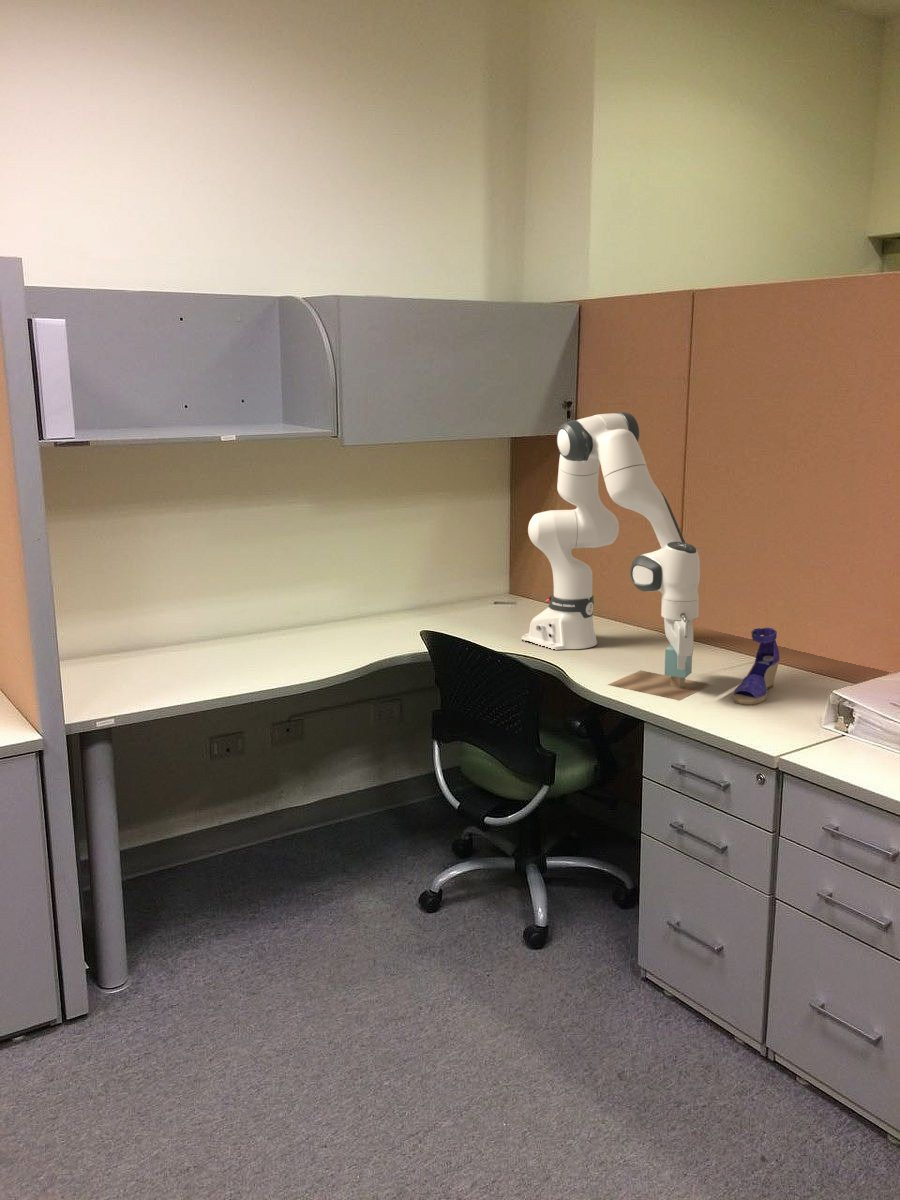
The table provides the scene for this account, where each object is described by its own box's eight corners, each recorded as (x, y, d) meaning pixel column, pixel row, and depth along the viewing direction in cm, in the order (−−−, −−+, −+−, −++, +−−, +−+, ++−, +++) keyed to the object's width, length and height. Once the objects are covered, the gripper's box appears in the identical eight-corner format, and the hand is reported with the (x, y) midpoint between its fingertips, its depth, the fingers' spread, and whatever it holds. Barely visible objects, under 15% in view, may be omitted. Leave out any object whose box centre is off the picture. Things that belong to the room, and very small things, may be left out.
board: (607, 687, 249) (607, 684, 249) (640, 673, 260) (640, 670, 260) (679, 703, 236) (679, 700, 236) (711, 687, 247) (711, 684, 247)
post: (670, 685, 247) (671, 664, 246) (675, 683, 249) (676, 662, 247) (679, 687, 245) (680, 666, 244) (685, 685, 247) (685, 663, 246)
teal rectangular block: (664, 675, 245) (665, 649, 244) (670, 669, 249) (671, 644, 248) (685, 677, 242) (686, 651, 241) (691, 672, 247) (692, 646, 245)
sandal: (720, 700, 238) (723, 639, 235) (761, 681, 252) (764, 624, 248) (752, 707, 232) (755, 645, 229) (791, 688, 246) (795, 629, 243)
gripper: (701, 619, 232) (698, 676, 235) (685, 600, 252) (684, 653, 255) (673, 619, 233) (671, 676, 235) (660, 600, 253) (659, 653, 255)
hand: (678, 664), depth 245 cm, fingers closed on teal rectangular block, 7 cm apart
